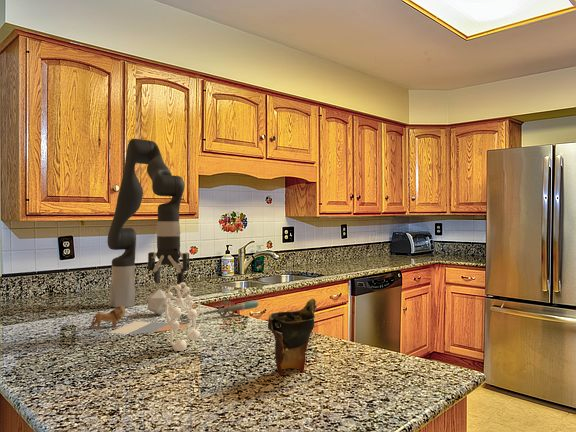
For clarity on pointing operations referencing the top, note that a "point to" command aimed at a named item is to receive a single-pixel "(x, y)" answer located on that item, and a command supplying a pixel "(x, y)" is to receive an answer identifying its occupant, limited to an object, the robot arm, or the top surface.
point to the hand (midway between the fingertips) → (168, 283)
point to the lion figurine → (109, 317)
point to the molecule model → (176, 313)
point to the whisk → (228, 308)
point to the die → (157, 302)
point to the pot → (292, 336)
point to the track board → (142, 327)
